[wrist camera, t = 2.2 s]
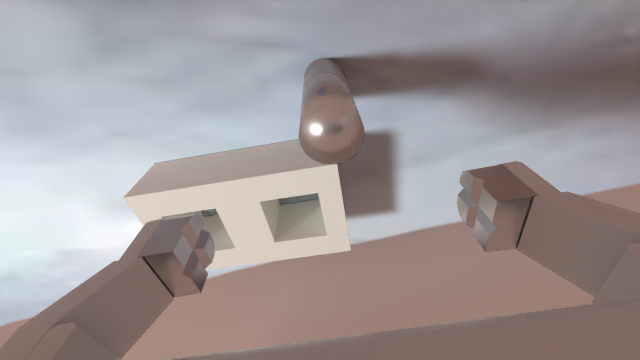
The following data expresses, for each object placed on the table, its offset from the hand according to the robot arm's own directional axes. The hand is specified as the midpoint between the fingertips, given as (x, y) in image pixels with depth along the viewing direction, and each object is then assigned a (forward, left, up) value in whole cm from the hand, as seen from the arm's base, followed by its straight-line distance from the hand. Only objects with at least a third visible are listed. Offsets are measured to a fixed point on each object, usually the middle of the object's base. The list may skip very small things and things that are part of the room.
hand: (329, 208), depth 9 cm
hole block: (+8, +9, -15) cm, 19 cm away
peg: (0, 0, -15) cm, 15 cm away
